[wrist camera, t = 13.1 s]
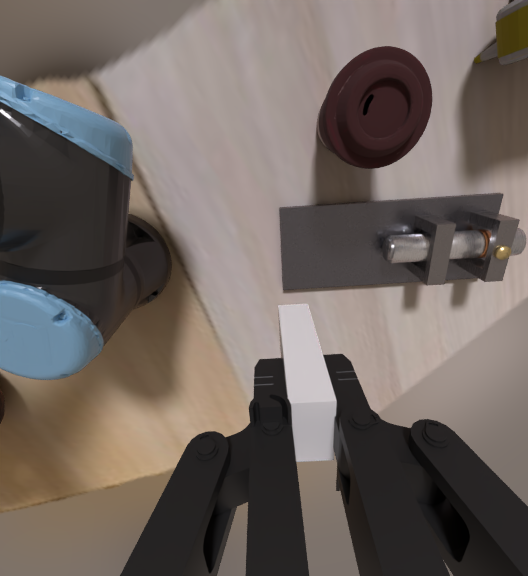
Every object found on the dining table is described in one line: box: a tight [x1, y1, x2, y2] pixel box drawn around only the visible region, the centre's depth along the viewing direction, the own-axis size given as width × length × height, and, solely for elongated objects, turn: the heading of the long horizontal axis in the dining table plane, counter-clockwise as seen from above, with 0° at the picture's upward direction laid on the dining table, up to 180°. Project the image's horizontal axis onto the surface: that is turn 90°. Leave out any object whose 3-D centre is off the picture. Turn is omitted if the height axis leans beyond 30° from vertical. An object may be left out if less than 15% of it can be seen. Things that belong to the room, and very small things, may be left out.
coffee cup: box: [317, 46, 432, 169], centre depth 34 cm, size 10×10×15 cm
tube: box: [382, 228, 526, 263], centre depth 44 cm, size 18×4×4 cm, turn 94°
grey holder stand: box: [280, 193, 519, 290], centre depth 44 cm, size 32×13×8 cm, turn 94°
